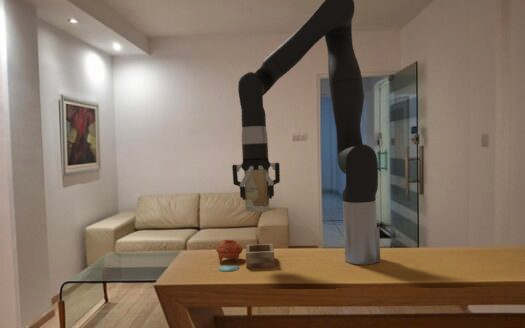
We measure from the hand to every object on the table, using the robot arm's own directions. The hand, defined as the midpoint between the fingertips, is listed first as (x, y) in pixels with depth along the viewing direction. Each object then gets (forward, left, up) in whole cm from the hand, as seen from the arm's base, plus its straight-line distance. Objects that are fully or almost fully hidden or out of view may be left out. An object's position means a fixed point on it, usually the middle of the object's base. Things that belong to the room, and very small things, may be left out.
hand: (257, 198), depth 112 cm
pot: (+9, -4, -19) cm, 22 cm away
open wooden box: (0, 0, -19) cm, 19 cm away
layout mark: (+9, +4, -19) cm, 21 cm away
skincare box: (0, 0, -4) cm, 4 cm away
